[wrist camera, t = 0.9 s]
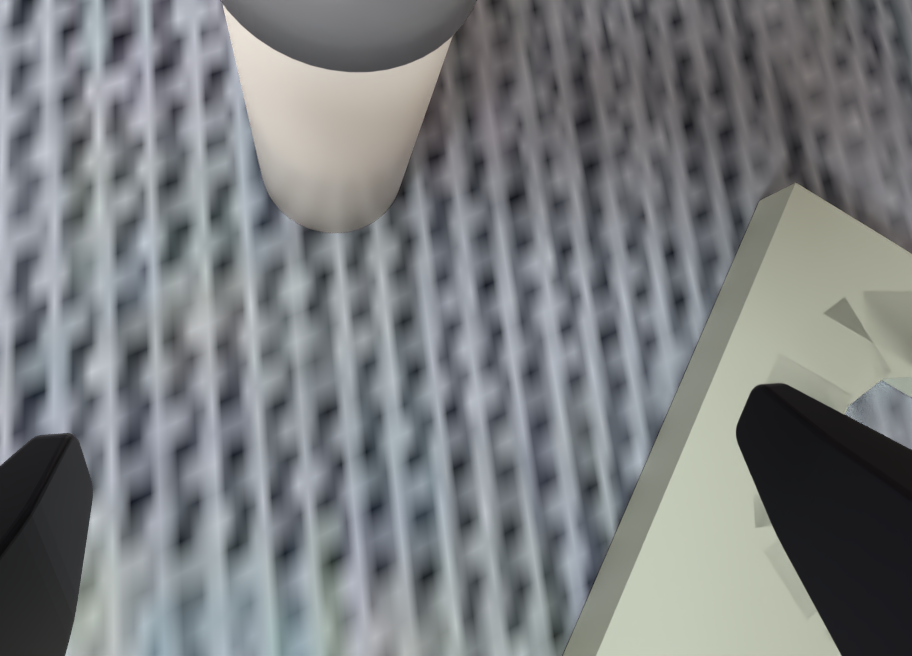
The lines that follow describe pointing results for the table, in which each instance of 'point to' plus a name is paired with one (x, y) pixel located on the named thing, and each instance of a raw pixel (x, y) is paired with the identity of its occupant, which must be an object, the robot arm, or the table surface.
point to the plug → (338, 97)
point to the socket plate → (717, 452)
